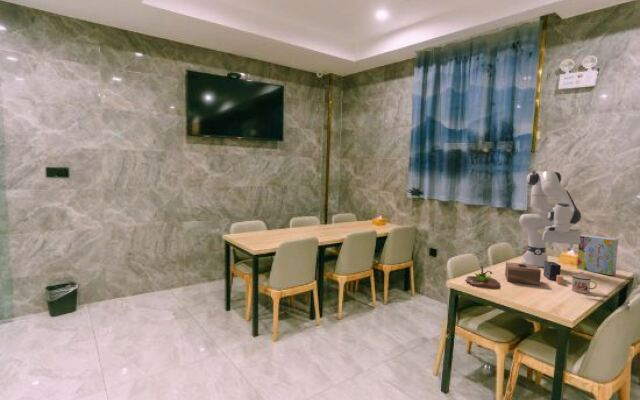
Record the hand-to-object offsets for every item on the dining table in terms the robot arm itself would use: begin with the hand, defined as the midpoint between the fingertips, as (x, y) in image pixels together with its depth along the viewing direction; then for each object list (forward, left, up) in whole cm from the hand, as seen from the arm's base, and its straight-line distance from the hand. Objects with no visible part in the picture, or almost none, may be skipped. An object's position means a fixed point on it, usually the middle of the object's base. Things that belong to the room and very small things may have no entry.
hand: (560, 250), depth 228 cm
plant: (+24, -46, -22) cm, 56 cm away
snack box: (-47, +34, -22) cm, 62 cm away
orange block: (+1, +1, -22) cm, 22 cm away
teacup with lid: (+14, +10, -22) cm, 28 cm away
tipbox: (+6, -21, -22) cm, 31 cm away
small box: (-11, -1, -22) cm, 25 cm away
